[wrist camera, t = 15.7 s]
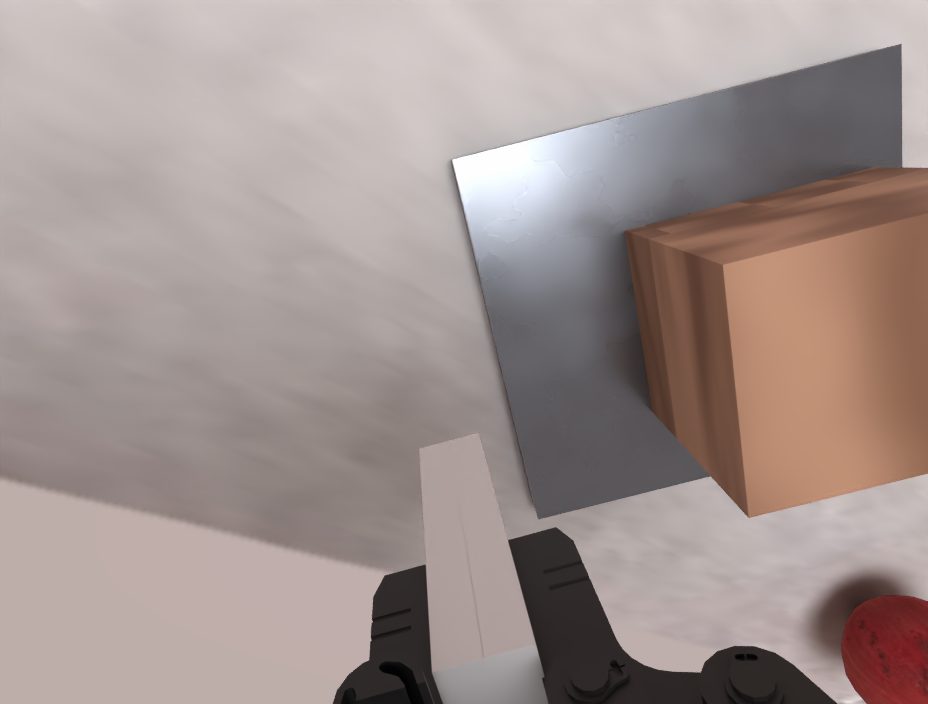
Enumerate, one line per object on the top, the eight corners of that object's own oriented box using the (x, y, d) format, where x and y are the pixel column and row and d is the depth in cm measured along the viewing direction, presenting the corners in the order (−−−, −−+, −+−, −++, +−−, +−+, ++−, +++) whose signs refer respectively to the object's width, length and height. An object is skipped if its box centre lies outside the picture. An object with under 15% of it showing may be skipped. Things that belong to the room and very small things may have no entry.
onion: (798, 582, 31) (922, 721, 23) (907, 546, 30) (1068, 675, 23) (815, 664, 33) (934, 818, 25) (917, 631, 32) (1070, 776, 25)
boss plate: (533, 504, 28) (547, 548, 25) (450, 159, 23) (455, 159, 20) (884, 416, 28) (942, 448, 25) (877, 49, 23) (949, 32, 20)
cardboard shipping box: (652, 412, 26) (748, 517, 18) (624, 230, 23) (722, 264, 16) (878, 355, 26) (1069, 438, 18) (874, 167, 23) (1095, 170, 16)
